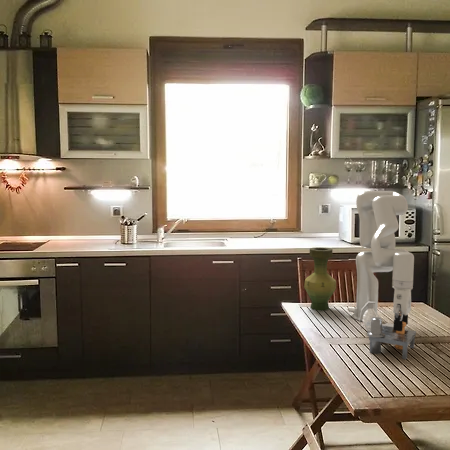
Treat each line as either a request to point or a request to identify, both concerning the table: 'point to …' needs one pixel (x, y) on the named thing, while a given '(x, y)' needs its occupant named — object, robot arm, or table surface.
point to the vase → (320, 280)
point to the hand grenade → (368, 315)
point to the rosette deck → (388, 336)
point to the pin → (401, 333)
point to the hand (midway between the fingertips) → (400, 327)
